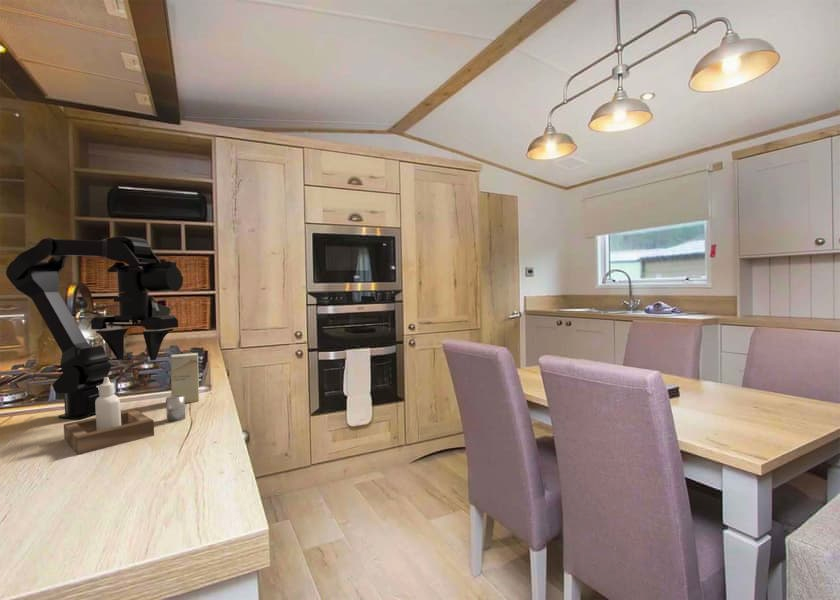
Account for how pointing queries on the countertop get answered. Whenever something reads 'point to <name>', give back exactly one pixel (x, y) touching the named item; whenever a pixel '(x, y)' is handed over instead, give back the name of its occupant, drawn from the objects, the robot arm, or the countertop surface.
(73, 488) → the countertop surface
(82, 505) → the countertop surface
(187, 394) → the skincare box
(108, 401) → the eye dropper bottle
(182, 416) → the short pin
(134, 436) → the socket block
